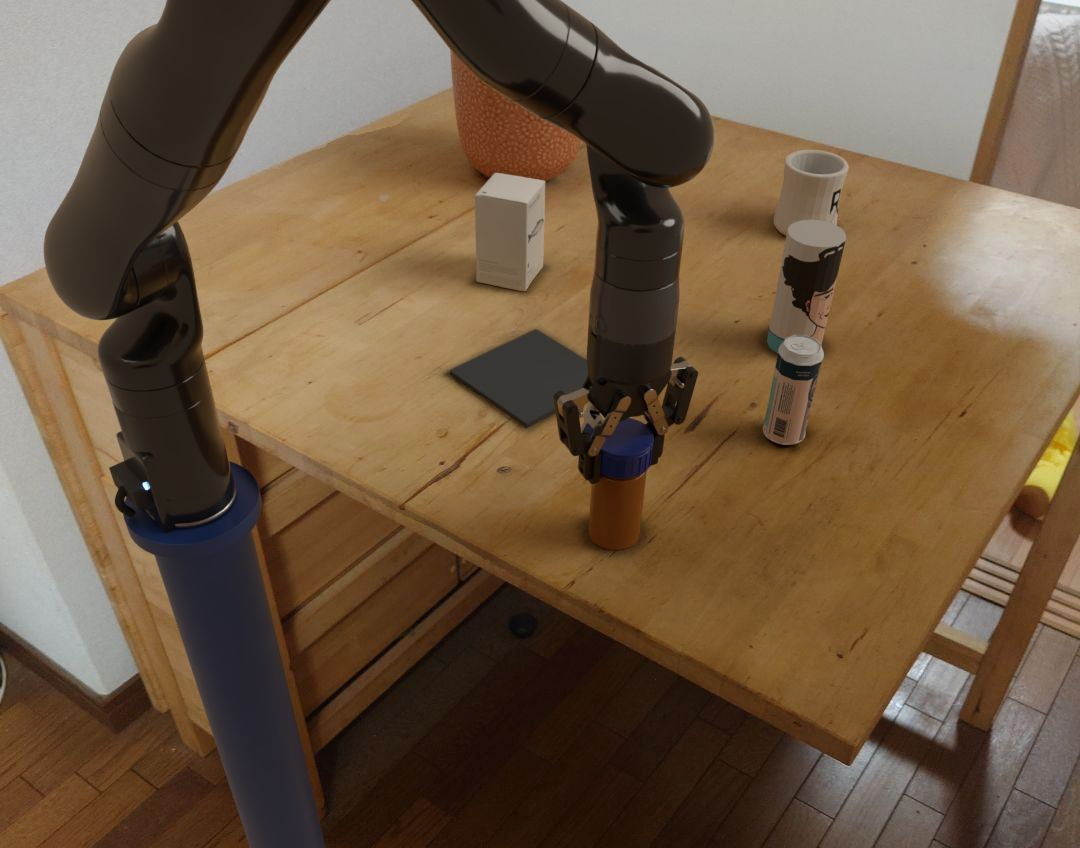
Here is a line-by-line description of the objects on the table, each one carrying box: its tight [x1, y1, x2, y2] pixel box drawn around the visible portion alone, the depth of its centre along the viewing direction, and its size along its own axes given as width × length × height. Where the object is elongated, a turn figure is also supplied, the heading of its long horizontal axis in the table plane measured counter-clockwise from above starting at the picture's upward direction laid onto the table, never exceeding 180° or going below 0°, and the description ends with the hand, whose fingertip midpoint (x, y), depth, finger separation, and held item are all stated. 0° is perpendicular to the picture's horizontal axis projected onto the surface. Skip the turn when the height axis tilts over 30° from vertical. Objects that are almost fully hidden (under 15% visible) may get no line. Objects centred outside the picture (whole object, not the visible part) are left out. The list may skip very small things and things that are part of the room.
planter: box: [449, 49, 583, 182], centre depth 163 cm, size 21×21×19 cm
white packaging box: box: [474, 173, 546, 292], centre depth 141 cm, size 7×7×13 cm
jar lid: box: [591, 417, 654, 478], centre depth 101 cm, size 6×6×3 cm
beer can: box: [762, 335, 825, 446], centre depth 116 cm, size 5×5×12 cm
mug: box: [773, 149, 850, 237], centre depth 154 cm, size 12×9×10 cm
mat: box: [449, 328, 588, 428], centre depth 128 cm, size 14×14×1 cm
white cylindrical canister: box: [766, 220, 847, 354], centre depth 129 cm, size 7×7×15 cm
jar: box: [588, 470, 648, 551], centre depth 104 cm, size 5×5×12 cm
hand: (619, 468), depth 102 cm, fingers closed on jar lid, 5 cm apart
